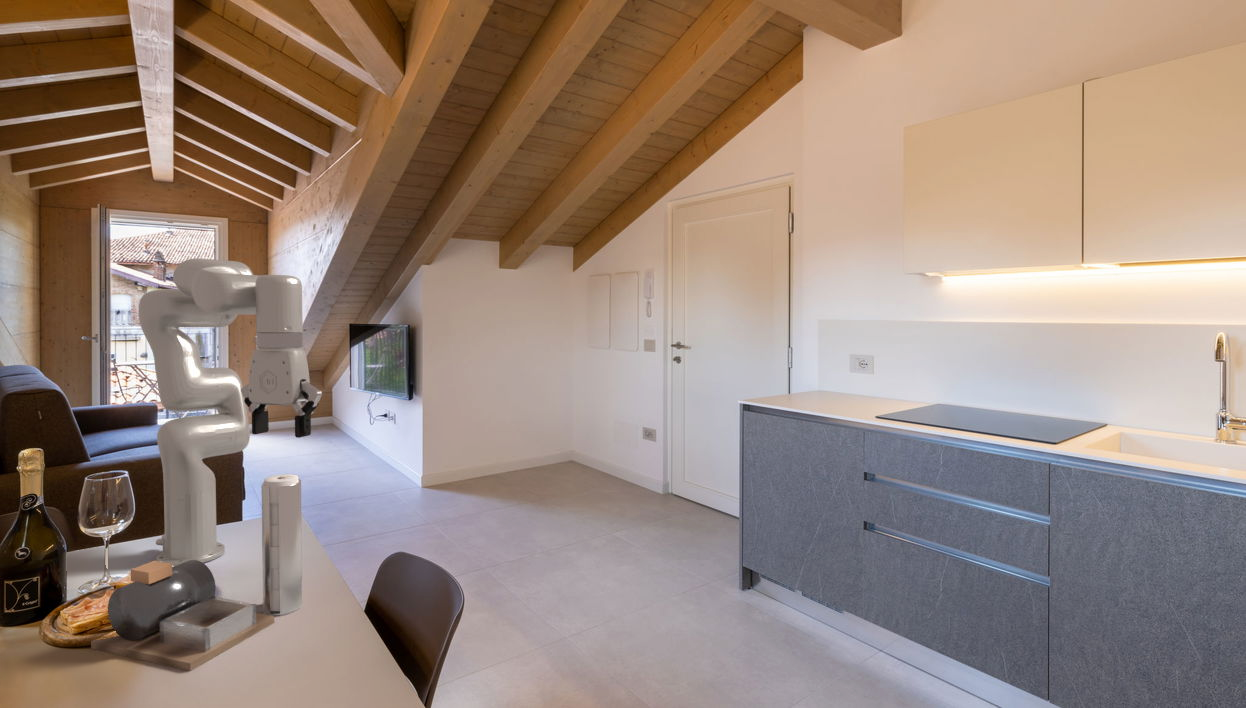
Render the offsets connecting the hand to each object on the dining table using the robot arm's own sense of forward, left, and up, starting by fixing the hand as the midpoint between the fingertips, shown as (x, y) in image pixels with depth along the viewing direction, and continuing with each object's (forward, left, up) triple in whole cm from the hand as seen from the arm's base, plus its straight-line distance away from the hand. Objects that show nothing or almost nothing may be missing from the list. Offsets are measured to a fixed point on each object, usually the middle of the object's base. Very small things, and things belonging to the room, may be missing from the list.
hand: (281, 434), depth 116 cm
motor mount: (-7, -13, -33) cm, 36 cm away
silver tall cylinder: (0, 0, -33) cm, 33 cm away
